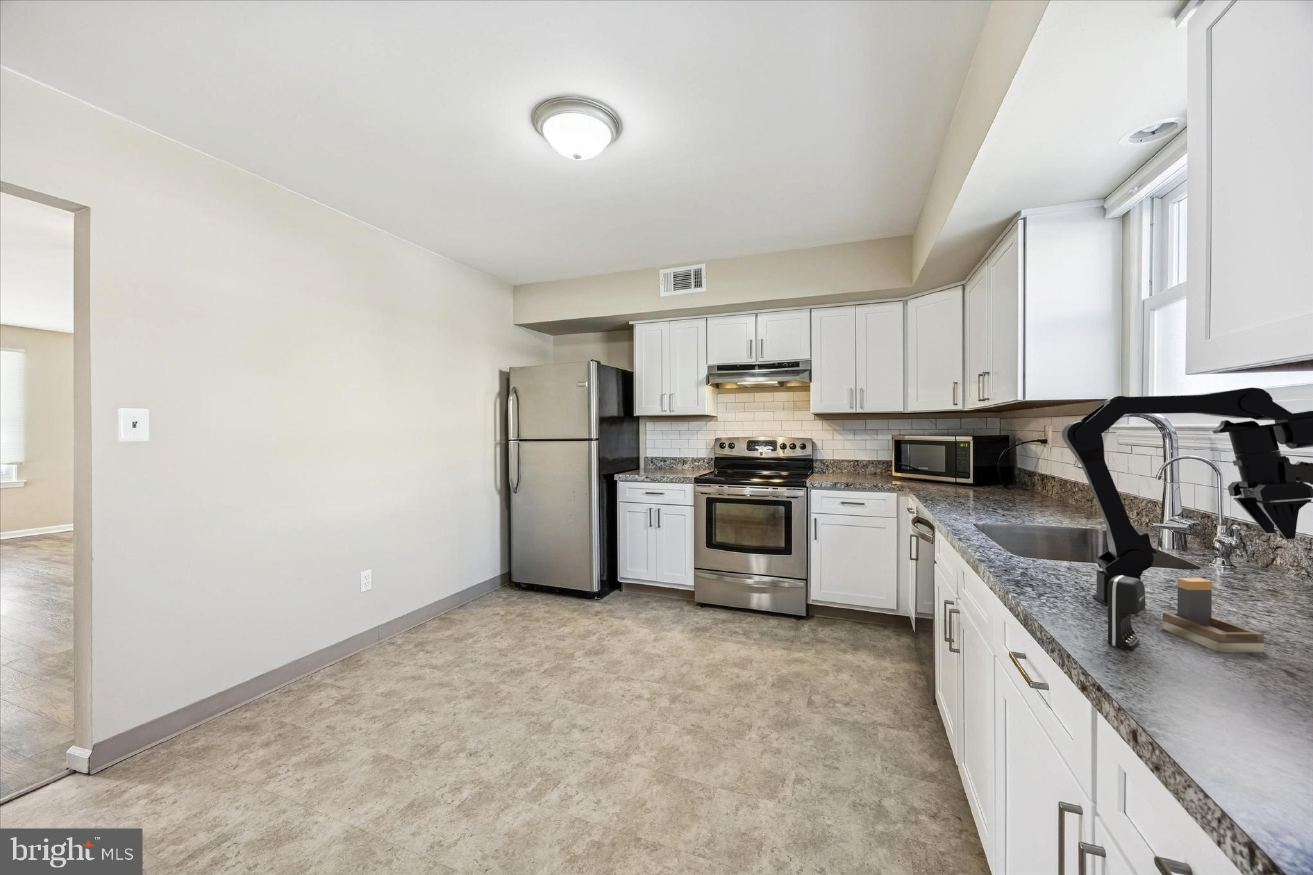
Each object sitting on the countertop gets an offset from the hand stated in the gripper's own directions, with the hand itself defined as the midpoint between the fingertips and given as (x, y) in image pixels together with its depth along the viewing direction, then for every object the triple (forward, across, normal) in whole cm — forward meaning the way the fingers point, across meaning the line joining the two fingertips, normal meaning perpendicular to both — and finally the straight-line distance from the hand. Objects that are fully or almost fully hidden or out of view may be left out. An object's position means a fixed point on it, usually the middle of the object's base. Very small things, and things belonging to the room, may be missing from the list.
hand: (1279, 535), depth 97 cm
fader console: (+15, -15, +15) cm, 26 cm away
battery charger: (+14, -26, +27) cm, 40 cm away
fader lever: (+13, -13, +17) cm, 25 cm away
